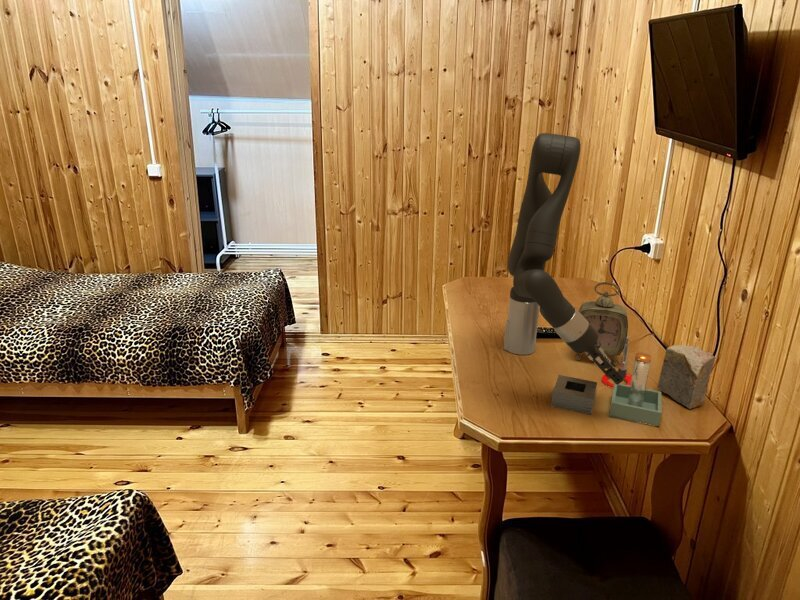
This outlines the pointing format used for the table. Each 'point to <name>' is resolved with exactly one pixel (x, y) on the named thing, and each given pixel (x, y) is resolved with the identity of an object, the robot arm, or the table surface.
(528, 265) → the robot arm
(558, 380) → the block
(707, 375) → the geological specimen
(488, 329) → the table surface
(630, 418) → the tray
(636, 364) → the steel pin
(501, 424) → the table surface
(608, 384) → the tow hook
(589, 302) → the tabletop clock
